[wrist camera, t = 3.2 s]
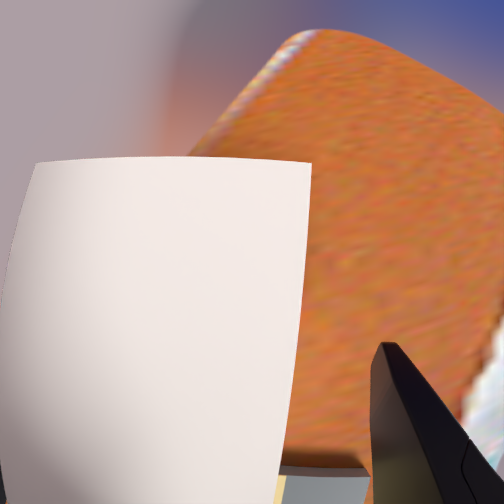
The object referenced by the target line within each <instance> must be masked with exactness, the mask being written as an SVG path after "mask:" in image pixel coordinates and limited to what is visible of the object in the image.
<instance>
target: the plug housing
mask: <svg viewBox="0 0 504 504" xmlns="http://www.w3.org/2000/svg"><path fill="white" fill-rule="evenodd" d="M311 164H312V163H303V162H291V161H278V160H263V159H246V158H223V157H173V156H171V157H170V156H164V157H113V158H92V159H75V160H62V161H49V162H39V163H36V165H35V168H34V171H33V173H32V176H31V179H30V182H29V185H28V188H27V191H26V194H25V198H24V201H23V204H22V208H21V211H20V214H19V218H18V222H17V225H16V229H15V233H14V237H13V242H12V245H11V250H10V254H9V259H8V265H7V269H6V274H5V280H4V286H3V292H2V299H1V306H0V464H1V471H2V477H3V483H4V488H5V493H6V498H7V503H8V504H273V501H274V496H275V490H276V485H277V479H278V473H279V468H280V462H281V456H282V450H283V443H284V437H285V430H286V424H287V417H288V410H289V403H290V396H291V388H292V381H293V373H294V365H295V357H296V348H297V340H298V331H299V322H300V312H301V302H302V292H303V281H304V270H305V258H306V245H307V232H308V217H309V202H310V184H311Z"/></svg>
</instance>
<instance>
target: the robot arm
mask: <svg viewBox="0 0 504 504" xmlns="http://www.w3.org/2000/svg"><path fill="white" fill-rule="evenodd" d="M370 434H371V449H372V468H373V500H374V504H504V481H503V480H502V479H501V478H500V476H499V475H498V474H497V473H496V472H495V470H494V469H493V468H492V467H491V466H490V464H489V463H488V462H487V460H486V459H485V458H484V456H483V455H482V454H481V452H480V451H479V450H478V448H477V447H476V446H475V444H474V443H473V441H472V440H471V439H469V436H468V435H467V433H466V432H465V431H464V429H463V428H462V427H461V425H460V424H459V422H458V421H457V420H456V418H455V417H454V416H453V414H452V413H451V412H450V410H449V409H448V408H447V406H446V405H445V404H444V402H443V401H442V400H441V399H440V397H439V396H438V395H437V393H436V392H435V391H434V389H433V388H432V387H431V386H430V384H429V383H428V382H427V380H426V379H425V378H424V377H423V375H422V374H421V373H420V371H419V370H418V369H417V368H416V366H415V365H414V364H413V363H412V361H411V360H410V359H409V358H408V356H407V355H406V354H405V353H404V351H403V350H402V349H401V348H400V346H399V345H398V344H397V343H395V342H381V343H380V345H379V346H378V349H377V351H376V354H375V356H374V359H373V361H372V364H371V386H370ZM6 500H7V498H6V493H5V488H4V483H3V477H2V471H1V464H0V504H6Z"/></svg>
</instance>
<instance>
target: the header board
mask: <svg viewBox="0 0 504 504" xmlns="http://www.w3.org/2000/svg"><path fill="white" fill-rule="evenodd" d="M369 481H370V475H369V473H368V472H367V470H366V469H365V468H315V467H297V466H284V465H280V468H279V473H278V479H277V485H276V490H275V496H274V501H273V504H363V503H364V500H365V496H366V493H367V489H368V485H369Z"/></svg>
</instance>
